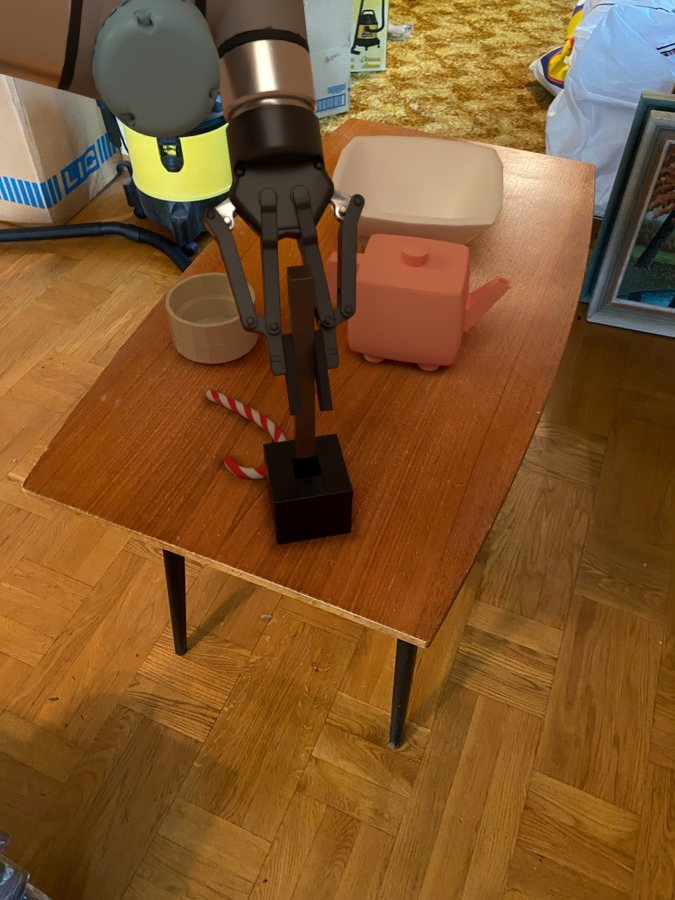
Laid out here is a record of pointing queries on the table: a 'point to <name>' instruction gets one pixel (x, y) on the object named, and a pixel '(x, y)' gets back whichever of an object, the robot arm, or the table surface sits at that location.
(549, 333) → the table surface
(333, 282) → the teapot
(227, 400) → the candy cane
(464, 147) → the bowl
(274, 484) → the stick stand
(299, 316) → the stick
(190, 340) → the mixing bowl
